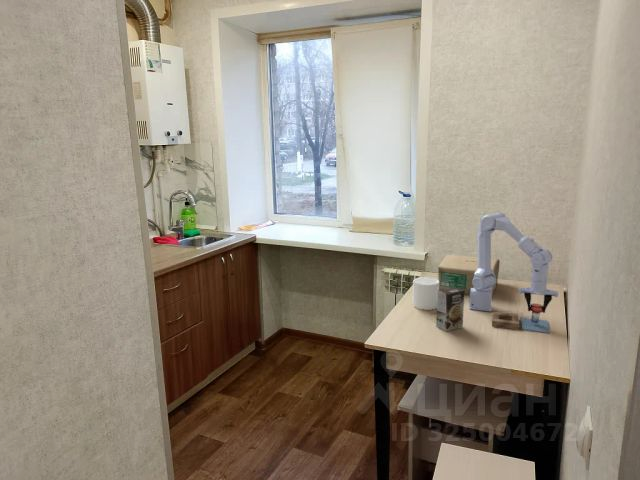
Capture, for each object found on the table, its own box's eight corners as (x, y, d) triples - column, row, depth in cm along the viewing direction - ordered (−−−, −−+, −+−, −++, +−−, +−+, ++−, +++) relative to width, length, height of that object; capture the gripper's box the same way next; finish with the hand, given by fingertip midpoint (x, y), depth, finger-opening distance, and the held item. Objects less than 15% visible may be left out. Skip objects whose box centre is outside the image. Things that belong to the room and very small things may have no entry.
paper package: (436, 292, 233) (437, 265, 230) (446, 277, 255) (447, 252, 252) (492, 299, 221) (494, 271, 218) (498, 283, 244) (500, 257, 241)
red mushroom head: (528, 322, 189) (530, 307, 188) (528, 318, 194) (530, 302, 192) (541, 324, 188) (543, 308, 186) (540, 320, 192) (543, 304, 190)
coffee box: (446, 332, 187) (448, 294, 183) (435, 326, 193) (437, 289, 189) (463, 327, 191) (465, 290, 187) (452, 321, 197) (454, 285, 193)
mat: (522, 329, 187) (522, 328, 187) (521, 318, 198) (521, 317, 198) (549, 333, 184) (549, 332, 184) (546, 321, 195) (547, 320, 195)
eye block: (491, 326, 191) (492, 320, 191) (492, 317, 201) (492, 311, 200) (518, 329, 188) (519, 323, 187) (517, 319, 197) (518, 314, 196)
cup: (433, 311, 208) (434, 286, 205) (408, 307, 214) (409, 282, 211) (441, 303, 217) (442, 279, 214) (417, 299, 223) (418, 275, 220)
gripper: (520, 280, 185) (517, 312, 188) (560, 284, 180) (556, 317, 183) (519, 275, 192) (516, 306, 195) (558, 279, 187) (555, 310, 190)
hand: (536, 311), depth 190 cm, fingers closed on red mushroom head, 5 cm apart
